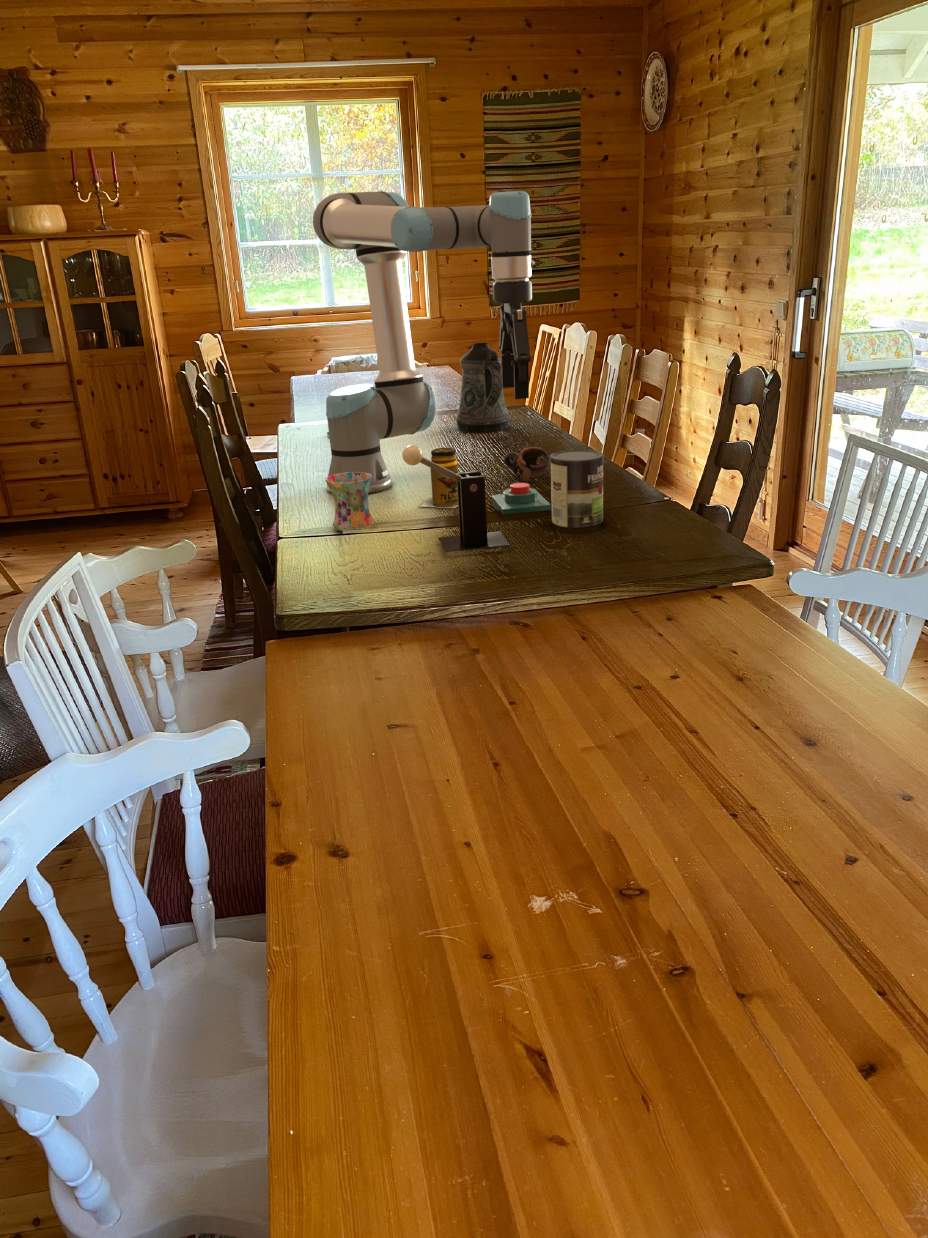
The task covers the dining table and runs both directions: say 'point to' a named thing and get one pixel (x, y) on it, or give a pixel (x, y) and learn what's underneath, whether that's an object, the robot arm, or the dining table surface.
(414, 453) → the lever
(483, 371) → the grey ceramic pitcher
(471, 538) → the bracket
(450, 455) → the condiment
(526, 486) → the button
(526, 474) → the pottery mug
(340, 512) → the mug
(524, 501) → the button box
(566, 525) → the coffee can
